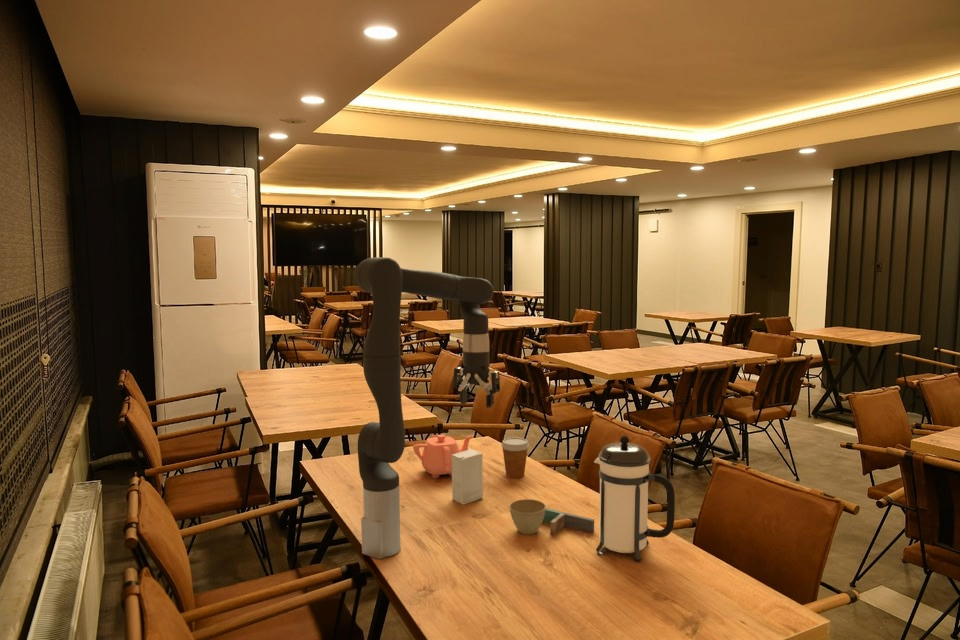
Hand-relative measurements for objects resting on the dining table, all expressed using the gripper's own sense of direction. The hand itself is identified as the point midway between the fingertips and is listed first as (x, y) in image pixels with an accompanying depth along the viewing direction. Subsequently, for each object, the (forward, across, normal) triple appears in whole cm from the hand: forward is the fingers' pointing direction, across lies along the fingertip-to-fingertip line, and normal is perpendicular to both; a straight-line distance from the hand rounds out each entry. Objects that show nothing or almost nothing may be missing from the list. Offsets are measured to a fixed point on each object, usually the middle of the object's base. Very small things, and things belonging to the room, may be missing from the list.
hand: (476, 405), depth 181 cm
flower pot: (+33, +17, 0) cm, 37 cm away
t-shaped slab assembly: (+33, +24, +4) cm, 41 cm away
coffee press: (+33, +44, +3) cm, 55 cm away
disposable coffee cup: (+33, -8, +37) cm, 50 cm away
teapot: (+33, -31, +27) cm, 53 cm away
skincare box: (+33, -10, +10) cm, 36 cm away
